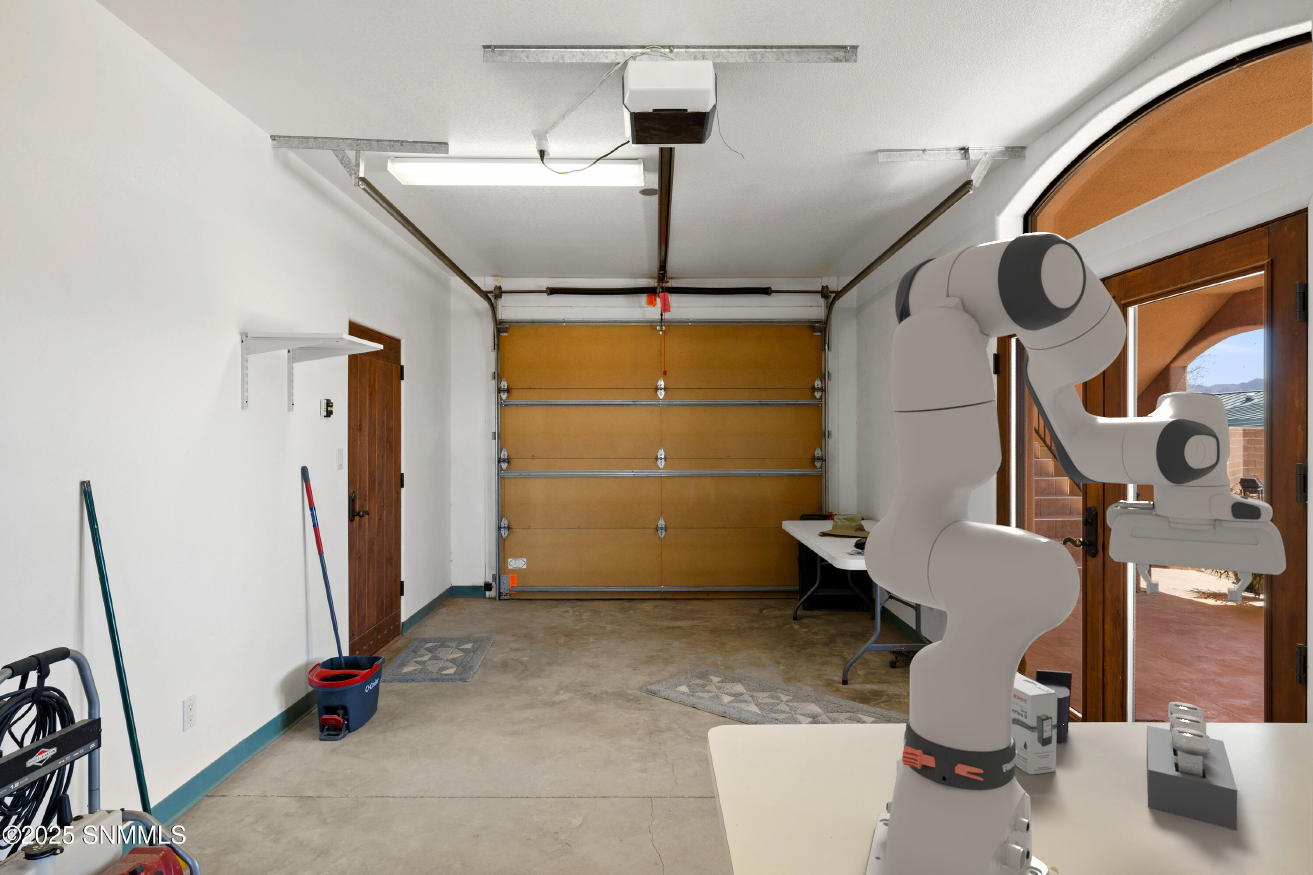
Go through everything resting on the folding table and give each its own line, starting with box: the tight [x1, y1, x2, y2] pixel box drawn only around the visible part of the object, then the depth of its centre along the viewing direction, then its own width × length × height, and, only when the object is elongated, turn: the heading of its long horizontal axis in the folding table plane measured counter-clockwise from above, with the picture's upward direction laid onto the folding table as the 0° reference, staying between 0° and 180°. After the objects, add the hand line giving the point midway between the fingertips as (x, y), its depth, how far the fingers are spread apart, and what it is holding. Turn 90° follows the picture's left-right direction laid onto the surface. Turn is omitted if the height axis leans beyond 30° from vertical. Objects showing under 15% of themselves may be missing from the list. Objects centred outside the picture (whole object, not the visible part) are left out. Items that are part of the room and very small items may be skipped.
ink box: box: [1012, 672, 1057, 775], centre depth 104 cm, size 9×5×12 cm, turn 14°
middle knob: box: [1169, 714, 1207, 757], centre depth 95 cm, size 4×4×5 cm
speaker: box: [1034, 669, 1073, 745], centre depth 112 cm, size 8×6×10 cm
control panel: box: [1146, 725, 1238, 831], centre depth 95 cm, size 17×9×5 cm, turn 145°
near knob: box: [1171, 728, 1211, 778], centre depth 90 cm, size 4×4×5 cm
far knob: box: [1167, 701, 1204, 721], centre depth 99 cm, size 4×4×5 cm
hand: (1192, 597), depth 100 cm, fingers open, 8 cm apart
